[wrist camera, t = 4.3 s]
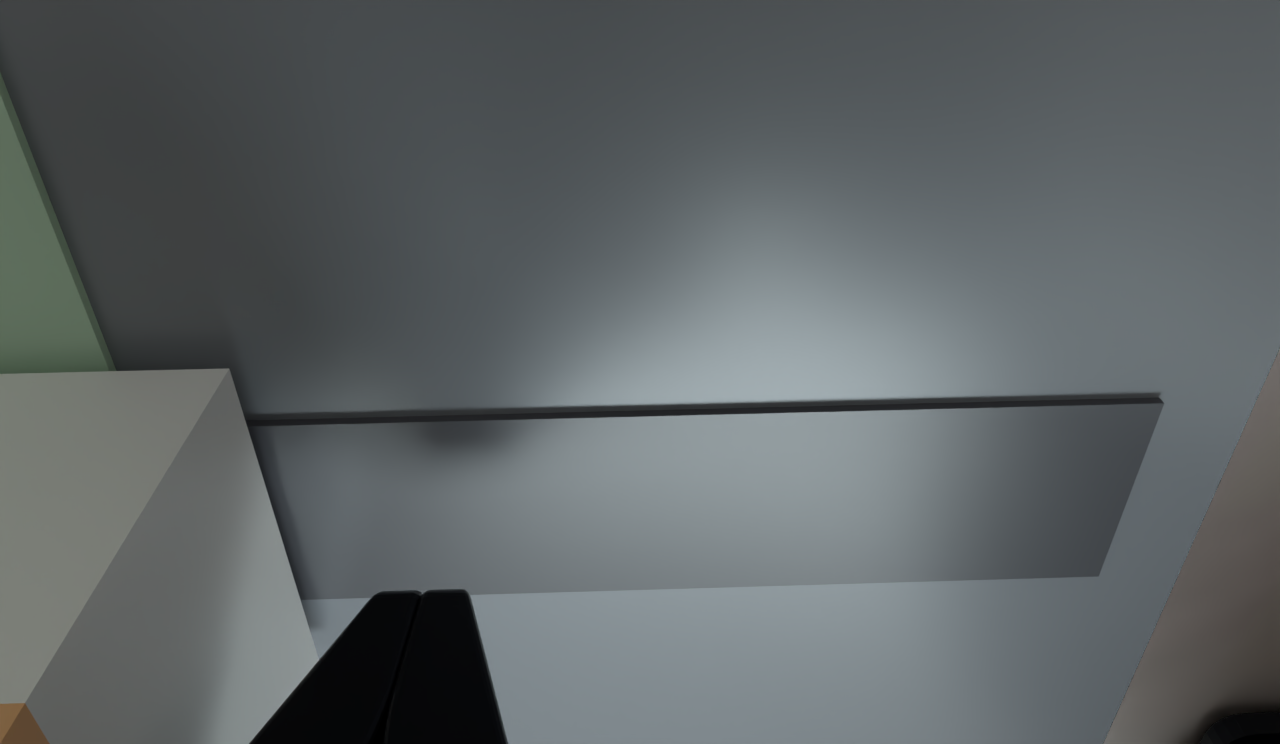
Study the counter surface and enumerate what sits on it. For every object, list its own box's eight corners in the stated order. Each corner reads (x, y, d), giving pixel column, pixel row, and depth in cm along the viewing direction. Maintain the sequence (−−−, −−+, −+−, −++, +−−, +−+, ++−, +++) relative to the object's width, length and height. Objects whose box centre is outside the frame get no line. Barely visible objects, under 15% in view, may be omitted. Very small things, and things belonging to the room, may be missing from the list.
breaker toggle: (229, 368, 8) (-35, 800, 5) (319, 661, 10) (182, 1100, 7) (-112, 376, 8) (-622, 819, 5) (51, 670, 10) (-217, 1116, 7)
